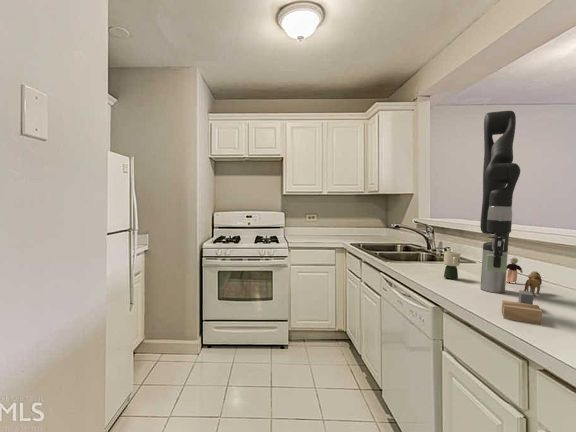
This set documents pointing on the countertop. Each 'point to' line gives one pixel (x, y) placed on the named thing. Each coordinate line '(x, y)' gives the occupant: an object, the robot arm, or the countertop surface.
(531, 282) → the lion figurine
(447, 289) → the countertop surface
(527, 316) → the oak block
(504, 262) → the sage brick
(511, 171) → the robot arm
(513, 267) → the grandmother figurine
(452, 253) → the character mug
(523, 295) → the charcoal brick
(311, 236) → the countertop surface
